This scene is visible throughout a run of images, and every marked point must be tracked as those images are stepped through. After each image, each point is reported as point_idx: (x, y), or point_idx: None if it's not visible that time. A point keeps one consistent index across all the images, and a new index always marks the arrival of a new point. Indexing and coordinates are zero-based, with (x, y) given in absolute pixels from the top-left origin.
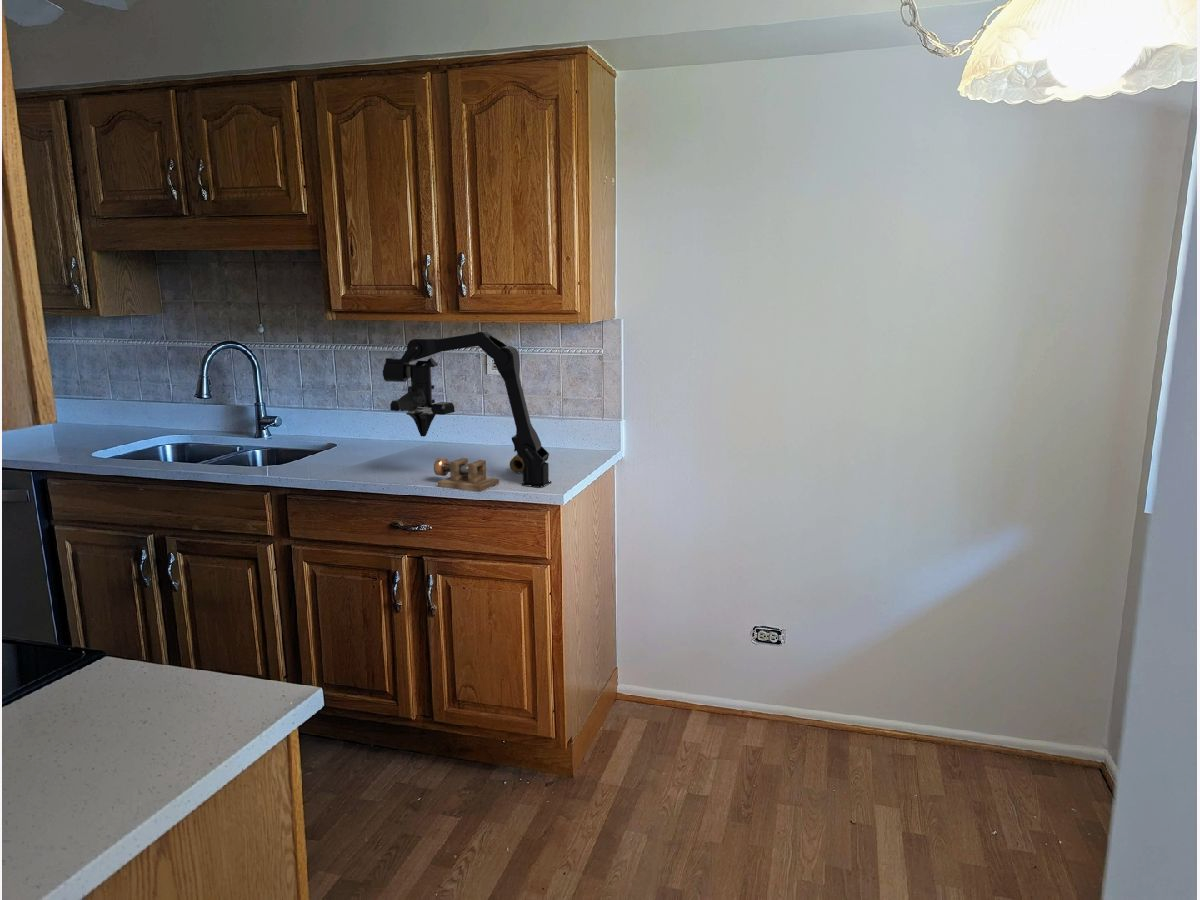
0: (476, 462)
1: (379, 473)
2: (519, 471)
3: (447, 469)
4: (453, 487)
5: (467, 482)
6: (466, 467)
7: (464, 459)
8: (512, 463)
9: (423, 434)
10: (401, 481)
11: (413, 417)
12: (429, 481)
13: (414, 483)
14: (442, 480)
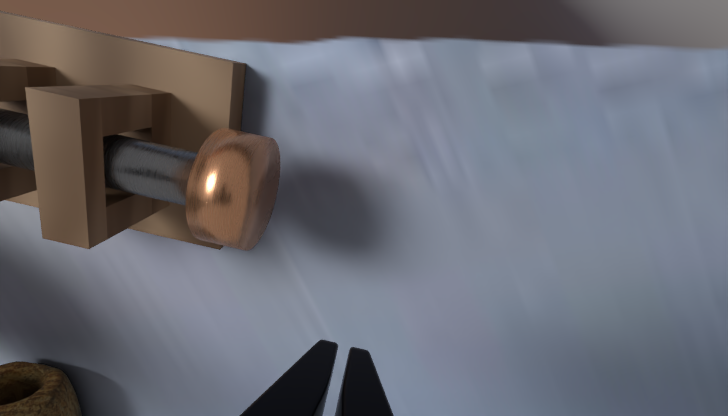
0: None
1: (689, 285)
2: (32, 364)
3: (182, 149)
4: (142, 41)
5: (71, 83)
6: (23, 129)
7: (44, 208)
8: (31, 395)
9: (312, 352)
10: (499, 138)
11: None
12: (345, 170)
13: (406, 109)
14: (221, 96)
